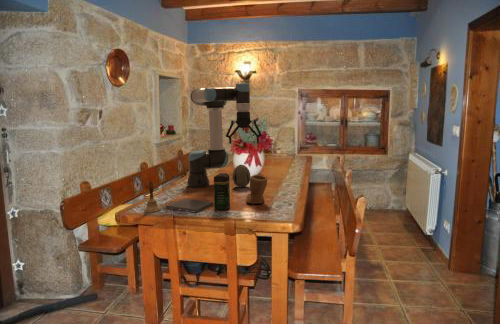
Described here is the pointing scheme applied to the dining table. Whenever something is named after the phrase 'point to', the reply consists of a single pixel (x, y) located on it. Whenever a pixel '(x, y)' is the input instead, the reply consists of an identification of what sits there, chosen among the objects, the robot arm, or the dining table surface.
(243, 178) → the decorative egg
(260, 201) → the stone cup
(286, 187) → the dining table surface
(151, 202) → the hand bell
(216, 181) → the coffee jar
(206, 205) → the plate
